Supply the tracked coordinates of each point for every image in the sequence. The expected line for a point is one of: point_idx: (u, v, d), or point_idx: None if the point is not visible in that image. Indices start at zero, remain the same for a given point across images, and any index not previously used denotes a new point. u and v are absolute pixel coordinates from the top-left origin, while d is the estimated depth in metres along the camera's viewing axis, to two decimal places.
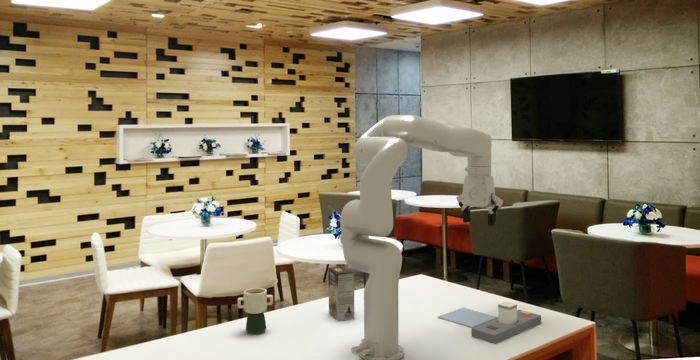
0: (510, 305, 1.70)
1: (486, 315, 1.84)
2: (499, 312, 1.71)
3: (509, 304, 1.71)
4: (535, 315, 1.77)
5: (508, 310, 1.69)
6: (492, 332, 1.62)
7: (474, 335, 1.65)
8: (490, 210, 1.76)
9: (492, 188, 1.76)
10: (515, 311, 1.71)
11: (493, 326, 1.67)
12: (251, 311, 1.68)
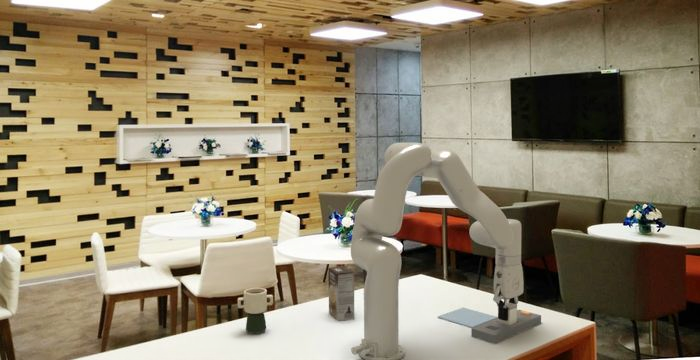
0: (510, 305, 1.70)
1: (486, 315, 1.84)
2: None
3: (509, 304, 1.71)
4: (535, 315, 1.77)
5: (508, 309, 1.69)
6: (492, 332, 1.62)
7: (474, 335, 1.65)
8: (516, 300, 1.72)
9: None
10: (515, 311, 1.71)
11: (493, 326, 1.67)
12: (251, 311, 1.68)
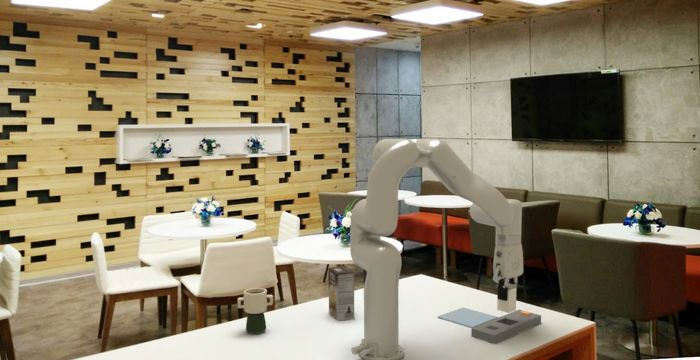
0: (509, 285, 1.69)
1: (486, 315, 1.84)
2: None
3: (508, 284, 1.70)
4: (535, 315, 1.77)
5: (508, 289, 1.68)
6: (492, 332, 1.62)
7: (474, 335, 1.65)
8: (516, 281, 1.71)
9: None
10: (514, 291, 1.70)
11: (493, 326, 1.67)
12: (251, 311, 1.68)
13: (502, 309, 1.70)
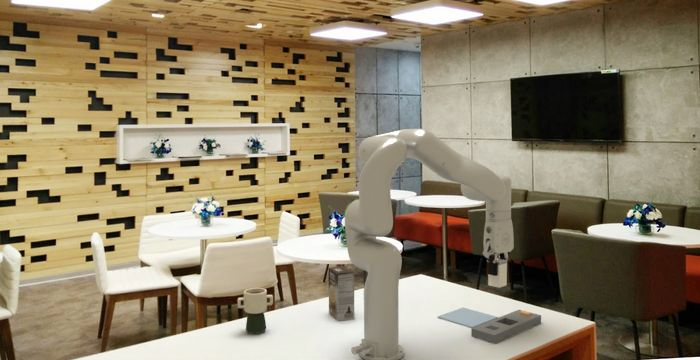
0: (500, 260, 1.72)
1: (486, 315, 1.84)
2: None
3: (499, 260, 1.73)
4: (535, 315, 1.77)
5: (498, 265, 1.70)
6: (492, 332, 1.62)
7: (474, 335, 1.65)
8: (507, 256, 1.74)
9: None
10: (505, 267, 1.72)
11: (493, 326, 1.67)
12: (251, 311, 1.68)
13: (493, 284, 1.72)
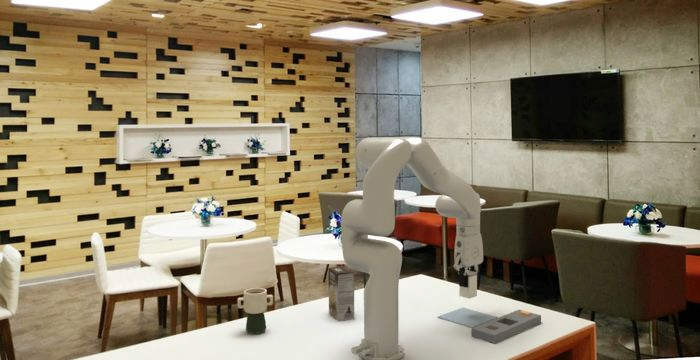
0: (470, 273, 1.81)
1: (486, 315, 1.84)
2: None
3: (469, 272, 1.82)
4: (535, 315, 1.77)
5: (468, 277, 1.79)
6: (492, 332, 1.62)
7: (474, 335, 1.65)
8: (477, 268, 1.83)
9: None
10: (475, 278, 1.81)
11: (493, 326, 1.67)
12: (251, 311, 1.68)
13: (464, 295, 1.81)
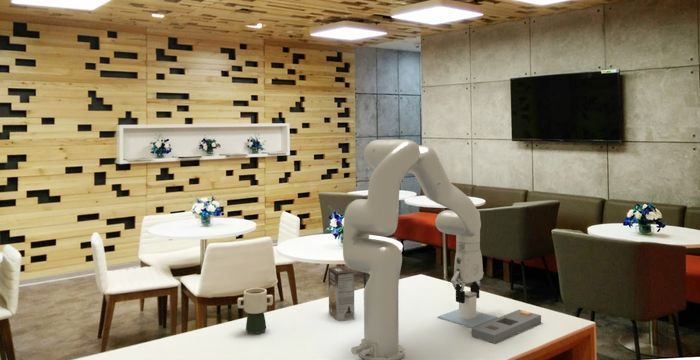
0: (470, 293, 1.81)
1: (486, 315, 1.84)
2: None
3: (469, 293, 1.82)
4: (535, 315, 1.77)
5: (468, 298, 1.80)
6: (492, 332, 1.62)
7: (474, 335, 1.65)
8: (479, 282, 1.84)
9: None
10: (475, 299, 1.82)
11: (493, 326, 1.67)
12: (251, 311, 1.68)
13: (463, 316, 1.82)
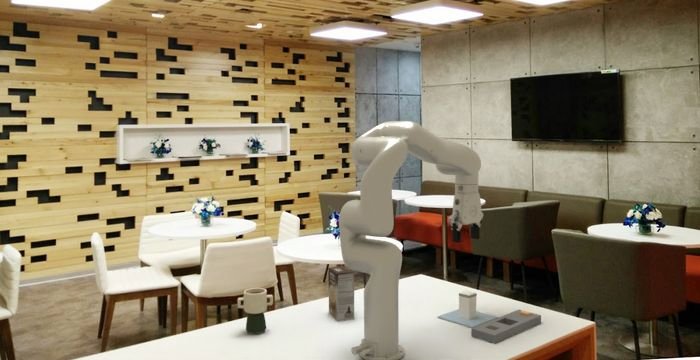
0: (470, 294, 1.81)
1: (486, 315, 1.84)
2: (460, 300, 1.82)
3: (469, 293, 1.82)
4: (535, 315, 1.77)
5: (468, 298, 1.80)
6: (492, 332, 1.62)
7: (474, 335, 1.65)
8: (479, 224, 1.86)
9: None
10: (474, 299, 1.82)
11: (493, 326, 1.67)
12: (251, 311, 1.68)
13: (463, 316, 1.82)
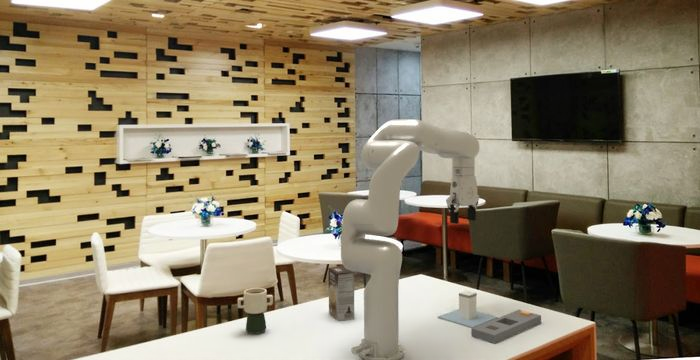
0: (470, 294, 1.81)
1: (486, 315, 1.84)
2: (460, 300, 1.82)
3: (469, 293, 1.82)
4: (535, 315, 1.77)
5: (468, 298, 1.80)
6: (492, 332, 1.62)
7: (474, 335, 1.65)
8: (475, 206, 1.94)
9: None
10: (474, 299, 1.82)
11: (493, 326, 1.67)
12: (251, 311, 1.68)
13: (463, 316, 1.82)
